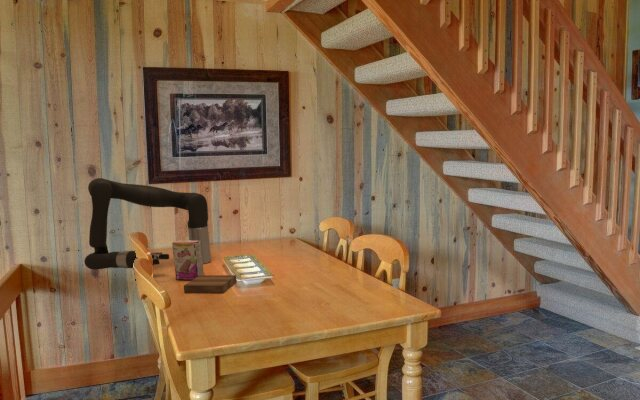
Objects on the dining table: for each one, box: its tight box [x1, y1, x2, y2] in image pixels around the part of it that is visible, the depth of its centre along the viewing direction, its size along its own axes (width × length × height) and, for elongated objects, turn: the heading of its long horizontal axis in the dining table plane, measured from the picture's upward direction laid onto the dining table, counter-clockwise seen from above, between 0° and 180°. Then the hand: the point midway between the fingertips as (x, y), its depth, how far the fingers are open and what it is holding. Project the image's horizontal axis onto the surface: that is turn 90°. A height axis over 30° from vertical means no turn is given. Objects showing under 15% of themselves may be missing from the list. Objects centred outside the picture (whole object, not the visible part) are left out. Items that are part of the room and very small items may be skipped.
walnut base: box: [183, 274, 237, 294], centre depth 211 cm, size 14×16×3 cm
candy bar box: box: [171, 239, 205, 281], centre depth 225 cm, size 11×5×16 cm, turn 71°
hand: (163, 259), depth 227 cm, fingers open, 8 cm apart
